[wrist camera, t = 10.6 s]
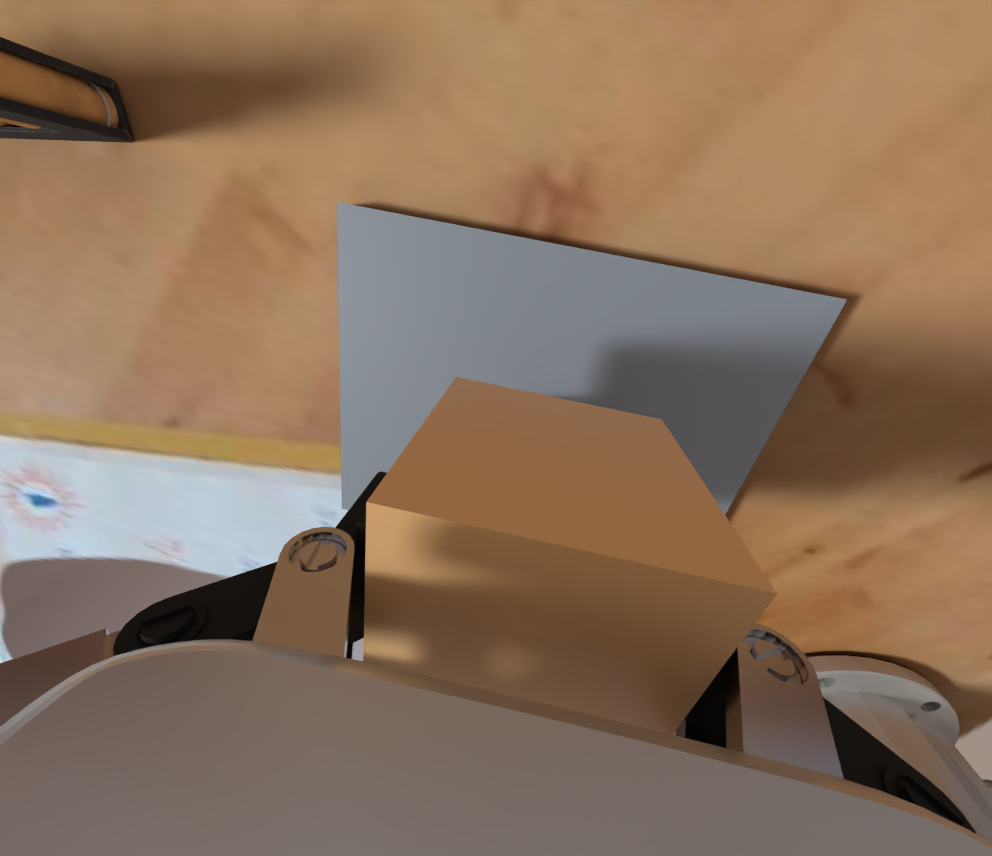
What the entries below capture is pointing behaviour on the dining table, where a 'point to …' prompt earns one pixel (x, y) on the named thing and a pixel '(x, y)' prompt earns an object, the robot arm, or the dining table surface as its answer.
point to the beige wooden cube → (555, 559)
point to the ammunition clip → (56, 99)
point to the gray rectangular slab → (559, 339)
